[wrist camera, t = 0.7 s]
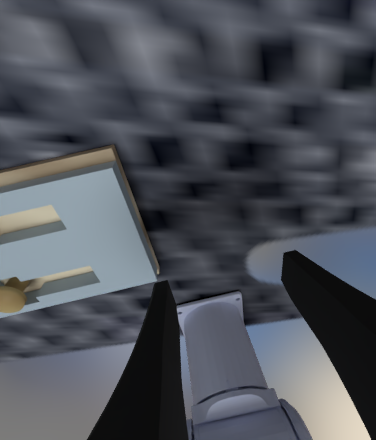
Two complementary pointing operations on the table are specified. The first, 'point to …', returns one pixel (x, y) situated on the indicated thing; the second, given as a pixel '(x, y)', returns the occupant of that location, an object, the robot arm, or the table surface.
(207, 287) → the table surface
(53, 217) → the board
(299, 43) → the table surface
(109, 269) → the panel
